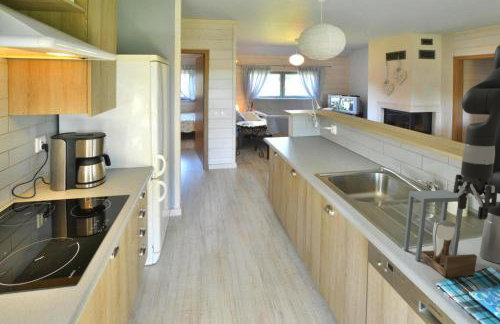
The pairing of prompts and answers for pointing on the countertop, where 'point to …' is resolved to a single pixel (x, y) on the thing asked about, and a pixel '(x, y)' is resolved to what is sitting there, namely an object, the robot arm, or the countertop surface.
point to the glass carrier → (452, 264)
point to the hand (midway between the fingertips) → (471, 213)
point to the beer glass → (443, 240)
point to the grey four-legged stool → (425, 198)
